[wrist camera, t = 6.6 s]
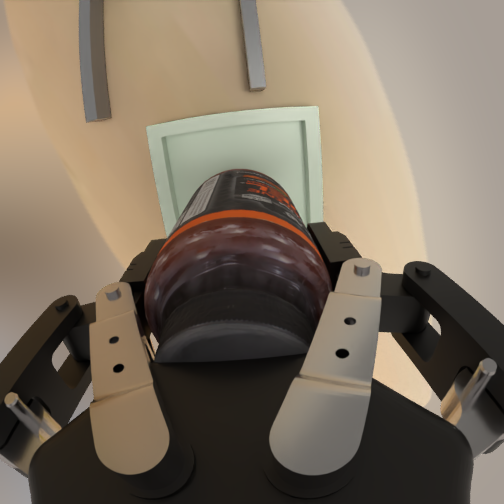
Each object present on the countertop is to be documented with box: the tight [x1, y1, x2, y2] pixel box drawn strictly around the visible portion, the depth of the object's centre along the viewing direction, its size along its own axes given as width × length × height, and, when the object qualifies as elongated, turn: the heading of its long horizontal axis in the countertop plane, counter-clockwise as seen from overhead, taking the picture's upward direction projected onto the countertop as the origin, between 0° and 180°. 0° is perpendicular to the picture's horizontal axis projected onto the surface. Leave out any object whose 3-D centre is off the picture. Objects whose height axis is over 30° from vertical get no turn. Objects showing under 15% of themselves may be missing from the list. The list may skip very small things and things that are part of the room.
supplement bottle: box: [144, 169, 333, 363], centre depth 11 cm, size 6×6×11 cm
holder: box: [79, 0, 266, 123], centre depth 15 cm, size 13×13×2 cm
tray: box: [146, 106, 323, 238], centre depth 21 cm, size 12×12×2 cm
